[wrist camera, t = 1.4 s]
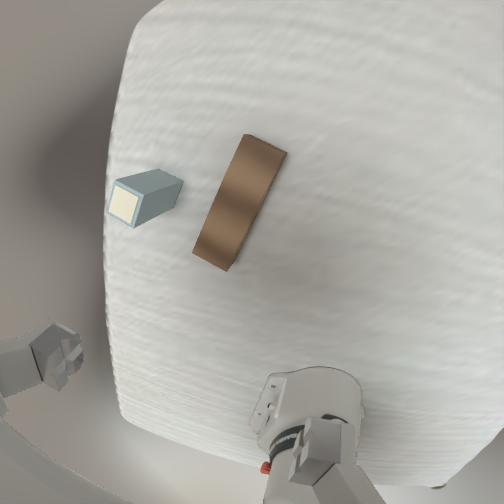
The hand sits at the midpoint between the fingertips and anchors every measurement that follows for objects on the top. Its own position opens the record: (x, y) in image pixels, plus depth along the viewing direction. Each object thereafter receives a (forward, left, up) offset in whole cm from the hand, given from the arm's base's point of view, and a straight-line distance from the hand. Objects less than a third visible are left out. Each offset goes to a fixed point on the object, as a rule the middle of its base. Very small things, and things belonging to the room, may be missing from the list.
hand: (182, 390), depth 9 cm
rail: (-3, +5, -31) cm, 32 cm away
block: (-6, +15, -31) cm, 35 cm away
